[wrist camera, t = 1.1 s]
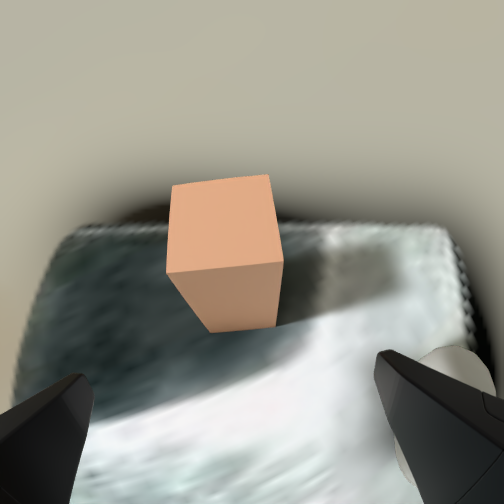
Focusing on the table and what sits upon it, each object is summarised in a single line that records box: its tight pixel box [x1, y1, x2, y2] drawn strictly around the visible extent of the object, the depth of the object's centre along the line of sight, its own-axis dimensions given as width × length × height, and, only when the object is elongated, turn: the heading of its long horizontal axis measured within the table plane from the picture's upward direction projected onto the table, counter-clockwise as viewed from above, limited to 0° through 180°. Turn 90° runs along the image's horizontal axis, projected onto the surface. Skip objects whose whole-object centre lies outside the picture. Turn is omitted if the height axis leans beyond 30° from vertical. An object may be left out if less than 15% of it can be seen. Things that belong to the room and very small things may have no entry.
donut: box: [394, 346, 496, 488], centre depth 13 cm, size 10×4×10 cm, turn 173°
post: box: [166, 174, 284, 333], centre depth 18 cm, size 5×5×11 cm
